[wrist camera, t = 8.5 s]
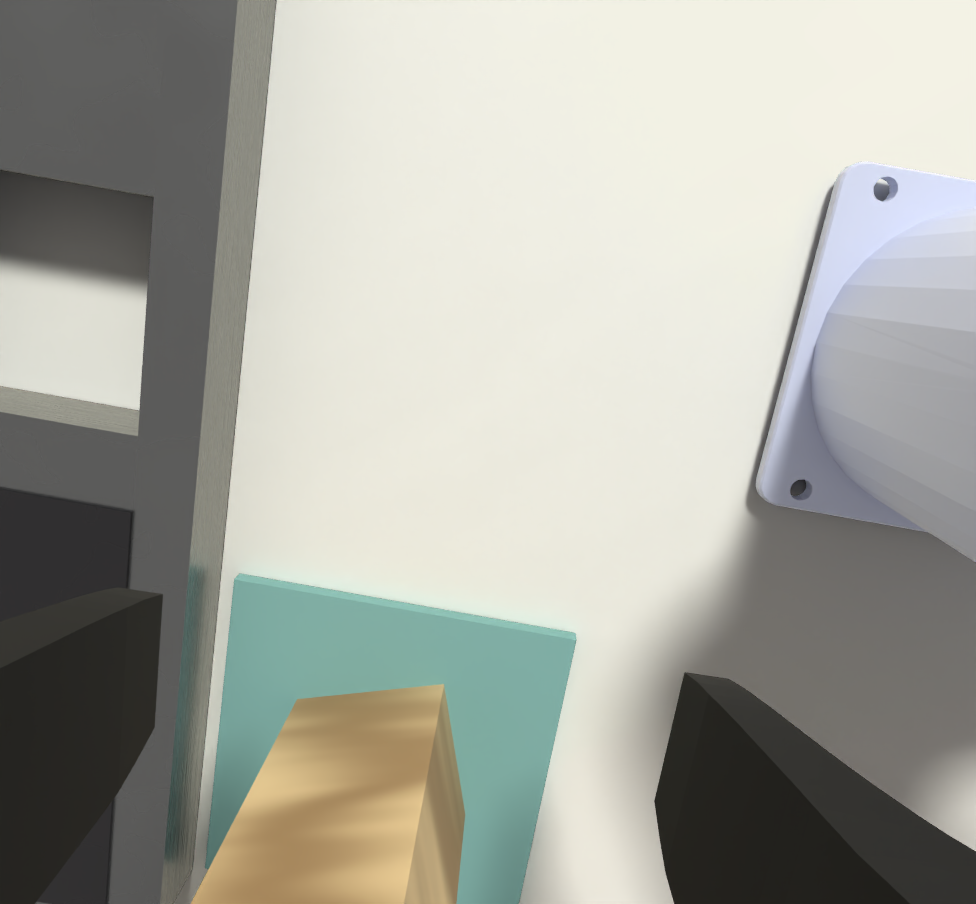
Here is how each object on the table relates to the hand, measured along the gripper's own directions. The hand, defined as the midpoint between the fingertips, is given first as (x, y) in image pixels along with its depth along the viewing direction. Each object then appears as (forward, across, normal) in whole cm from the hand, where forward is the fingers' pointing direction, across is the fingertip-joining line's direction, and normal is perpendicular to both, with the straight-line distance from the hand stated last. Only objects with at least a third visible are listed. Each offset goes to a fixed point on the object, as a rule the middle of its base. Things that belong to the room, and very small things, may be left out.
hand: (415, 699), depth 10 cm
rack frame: (+10, +10, 0) cm, 14 cm away
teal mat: (+9, +1, +8) cm, 12 cm away
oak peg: (+9, +1, +7) cm, 12 cm away
